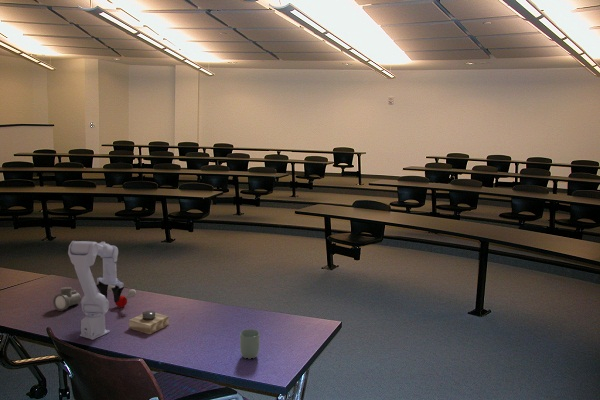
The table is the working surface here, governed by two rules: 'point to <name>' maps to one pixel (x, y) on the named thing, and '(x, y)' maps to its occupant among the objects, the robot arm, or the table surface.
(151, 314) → the steel pin
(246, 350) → the cup
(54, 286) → the table surface
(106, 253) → the robot arm
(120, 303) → the molecular model
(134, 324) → the wooden block
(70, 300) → the pipe fitting
